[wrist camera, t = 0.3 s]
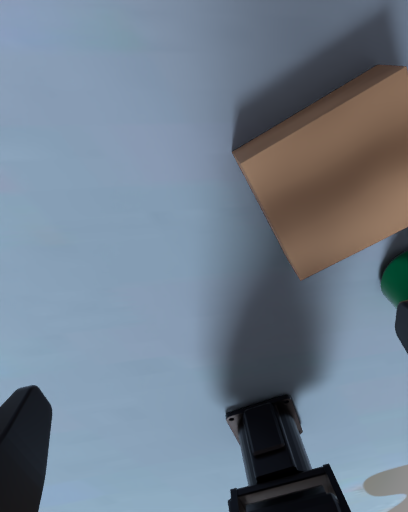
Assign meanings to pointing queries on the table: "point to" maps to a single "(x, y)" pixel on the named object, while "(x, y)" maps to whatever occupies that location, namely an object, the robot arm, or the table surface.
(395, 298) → the soda can
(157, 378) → the table surface
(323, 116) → the tan block
